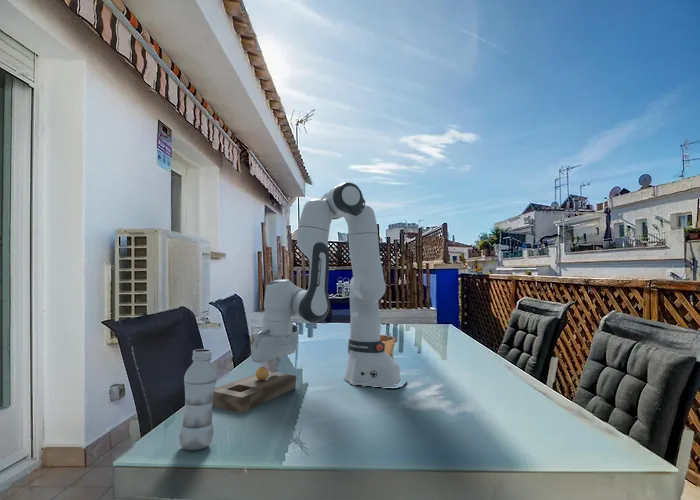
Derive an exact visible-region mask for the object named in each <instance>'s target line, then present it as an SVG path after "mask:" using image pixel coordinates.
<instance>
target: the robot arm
mask: <svg viewBox="0 0 700 500" xmlns="http://www.w3.org/2000/svg"><path fill="white" fill-rule="evenodd" d="M341 218H343V219H345V222H346V224H347V233H348V234H347V235H348V237H347V238H348V248H349V249H348V250H349V260H350V263H351V269H352V277H351V279H350V281H349V313H350V314H349V315H350V320H349V321H350V326H349V339H348V342H347V343H348V344H347V353H348V358H347V365H346V369H345V373H344V376H343V380H345V381H347V382H349V384H350V385H351V384H352V385H351V386H356V385H362V386H361V387H366V386H377V387H395V386H397V385H394V384H398V383H399V382H400V380H401V377H402V375H401V369H400V365H399V363H398V362H397V361H396V360H394V358H393V357H391V356H390V355H389V354H388V353H387V352H386V351H385V348H386V346H387V345H386V344H387V342H383V341H382V340H381V322H382V321H381V319H382V318H381V314H380V306H379V300H380V299H382V298H383V297H384V295H385V293H386V290H387V289H386V288H387V285H386V281H385V276H384V270H383V265H382V262H381V255H380V247H379V246H380V244H379V234H378V233H379V230H378V223H377V218H376V215H375V211H374V209H373V208H372V207H371V206H369V205H366V199H364V195H363V193H362V191H361V189H360V187H358V185H357V184H355V183H352V182H342V183H340V184H338V185H335V187H332V188H331V189H330V190H329V191H327V193H325V194H324V195H323V196H322V197H321V198H320V199H318V198H313V199H309V200H308V201H307V202H305V203H304V206H303V209H302V211H301V214H300V217H299V222H298V227H297V233H296V245H297V248H298V249H299V250H300V251H301V252H302V253H303V255H305V256H306V258H307V259H308V261H309V278H308V287H307V289H304V288H302V287H299V286H297V285H295V284H294V283H293V282H292V281H291V280H290V279H287V278H283V279H282V278H281V279H274V280H270V281H269V282H268V283H267V285H266V288H265V292H264V299H263V307H264V315H263V317H262V331H258V332H257V334H256V335H255V337H254V340H253V342H252V347H251V355H250V359H251V361H252V362H253V363H259V364H260V363H262V362H265V361H267V362H268V365H269V372H271V373H274V372H279V371H280V365H281V362H282V361H283V360H282V359H283V357H285V356H288V355H292V354H295V353H296V350H297V345H298V334H297V333H298V331H299V326H298V325H296V324H294V323H292V322H291V319H292V317H296V318H298V319H301V320H304V321H307V322H308V323H312V324H315V323H316V324H317V323H319V322H322V321H323V320H324V319H325V318H326V317H327V316H328V314H329V312H330V309H331V303H330V297H329V275H330V272H329V270H330V250H329V235H330V228H331V223H332V220H338V219H341Z"/></svg>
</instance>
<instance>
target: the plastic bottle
mask: <svg viewBox="0 0 700 500" xmlns="http://www.w3.org/2000/svg"><path fill="white" fill-rule="evenodd" d="M212 359H213V357H212V350H211V349H207V348H199V349H194V350H193V351H192V357H191V361H192V363H191V364H190V366H189V367H188V368H187V369H186V370H185V371H186V372H185V374H184V376H183V379H184V381H183V384H184V399H185V400H184V402H185V403H184V413H183V418H182V425H181V428H180V431H179V435H178V436H179V437H178V438H179V444H180V446H181V447H182V449H183V450H186V451H199V450H203V449H205V448H207V447H208V446H210V444H211V442H212V441H213V438H214V432H215V431H214V424H213V406H212V404H213V402H212V401H213V396H214V390H215V388H216V384H217V379H218V373H217V369H216V368H215V366H214V365H213V364H212V362H211V361H212Z"/></svg>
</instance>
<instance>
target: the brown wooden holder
mask: <svg viewBox="0 0 700 500" xmlns="http://www.w3.org/2000/svg"><path fill="white" fill-rule="evenodd" d="M296 381H297V375H293V374H288V373H283V372H278V371H276V372H274V373H271V372H269V375H268V377H267V378H266V379H265V380H259V379H257V377H256V373H255V374H252V375H250V376H246V377H244V378H241V379H238V380H235V381H231V382H229V383H225V384H222V385H220V386H216V387H215V390H214V396H213V401H212V402H213V404H212V408H213V407H214V408H218V409H223V410H226V411H231V412H235V413H239V414H242V413H245V412H247V411H249V410H251V409H254V408H255V407H258V406H260V405H262V404H264V403H267V402H269V401H272V400H273V399H275V398H277V397H279V396H282V395H284V394H286V393H288V392H290V391H292V390H295V389H296V387H297V386H296Z"/></svg>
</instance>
